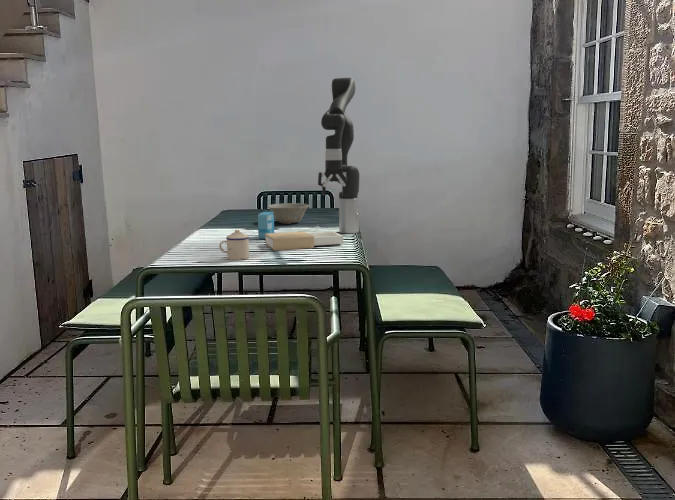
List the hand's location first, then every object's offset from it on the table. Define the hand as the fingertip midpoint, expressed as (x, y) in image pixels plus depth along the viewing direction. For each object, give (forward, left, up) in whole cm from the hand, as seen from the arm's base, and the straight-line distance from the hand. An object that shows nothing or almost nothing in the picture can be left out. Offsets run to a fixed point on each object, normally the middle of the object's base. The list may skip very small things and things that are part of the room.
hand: (333, 194), depth 301 cm
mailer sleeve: (+23, +4, -22) cm, 31 cm away
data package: (+27, -24, -22) cm, 42 cm away
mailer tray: (+16, +4, -21) cm, 26 cm away
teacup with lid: (+51, +24, -22) cm, 60 cm away
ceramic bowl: (+4, -70, -22) cm, 73 cm away
